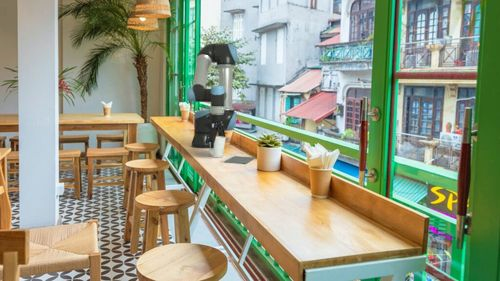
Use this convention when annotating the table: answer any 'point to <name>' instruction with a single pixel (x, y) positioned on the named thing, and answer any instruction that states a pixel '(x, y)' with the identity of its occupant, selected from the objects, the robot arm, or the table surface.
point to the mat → (239, 160)
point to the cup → (219, 147)
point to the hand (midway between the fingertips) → (217, 152)
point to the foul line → (227, 158)
